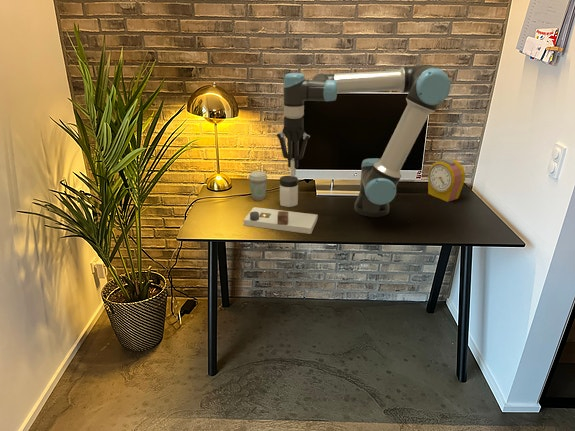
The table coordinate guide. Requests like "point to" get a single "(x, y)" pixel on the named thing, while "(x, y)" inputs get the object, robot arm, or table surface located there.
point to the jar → (288, 191)
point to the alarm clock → (446, 179)
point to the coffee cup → (258, 184)
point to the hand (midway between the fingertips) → (293, 175)
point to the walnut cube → (282, 218)
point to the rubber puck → (254, 216)
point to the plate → (295, 224)
